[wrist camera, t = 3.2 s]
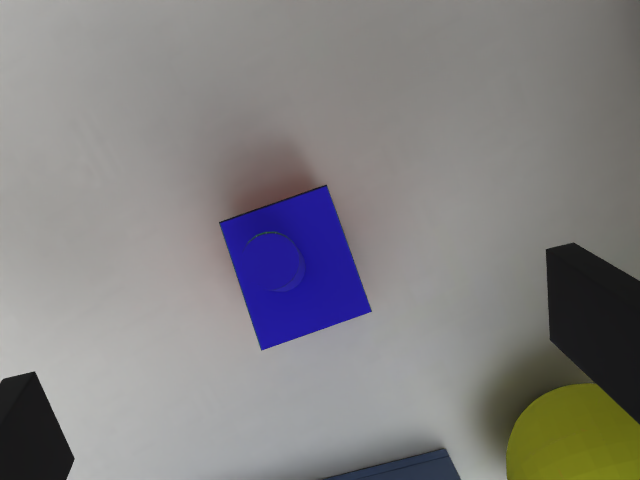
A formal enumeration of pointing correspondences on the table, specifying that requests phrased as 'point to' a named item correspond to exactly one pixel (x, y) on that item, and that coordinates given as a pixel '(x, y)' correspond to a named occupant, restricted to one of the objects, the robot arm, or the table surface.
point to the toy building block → (294, 267)
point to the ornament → (574, 438)
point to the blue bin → (409, 469)
